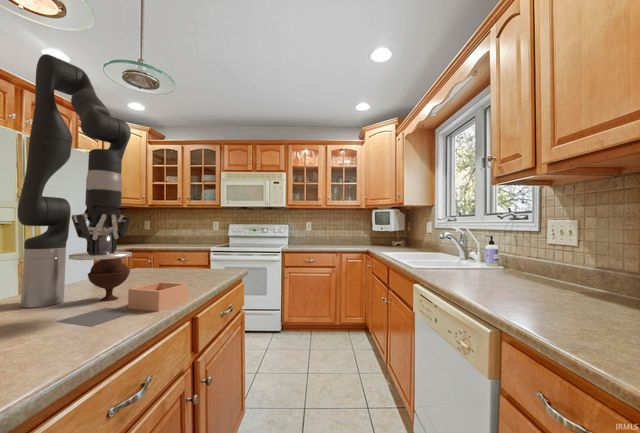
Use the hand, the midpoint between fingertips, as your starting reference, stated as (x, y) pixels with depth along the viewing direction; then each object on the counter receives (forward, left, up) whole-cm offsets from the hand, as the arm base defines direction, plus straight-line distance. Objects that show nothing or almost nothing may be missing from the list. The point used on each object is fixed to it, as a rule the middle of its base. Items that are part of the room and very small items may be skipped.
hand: (101, 253), depth 72 cm
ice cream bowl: (-14, +13, -17) cm, 26 cm away
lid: (0, 0, -1) cm, 1 cm away
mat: (0, 0, -17) cm, 17 cm away
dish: (+6, +13, -17) cm, 22 cm away
